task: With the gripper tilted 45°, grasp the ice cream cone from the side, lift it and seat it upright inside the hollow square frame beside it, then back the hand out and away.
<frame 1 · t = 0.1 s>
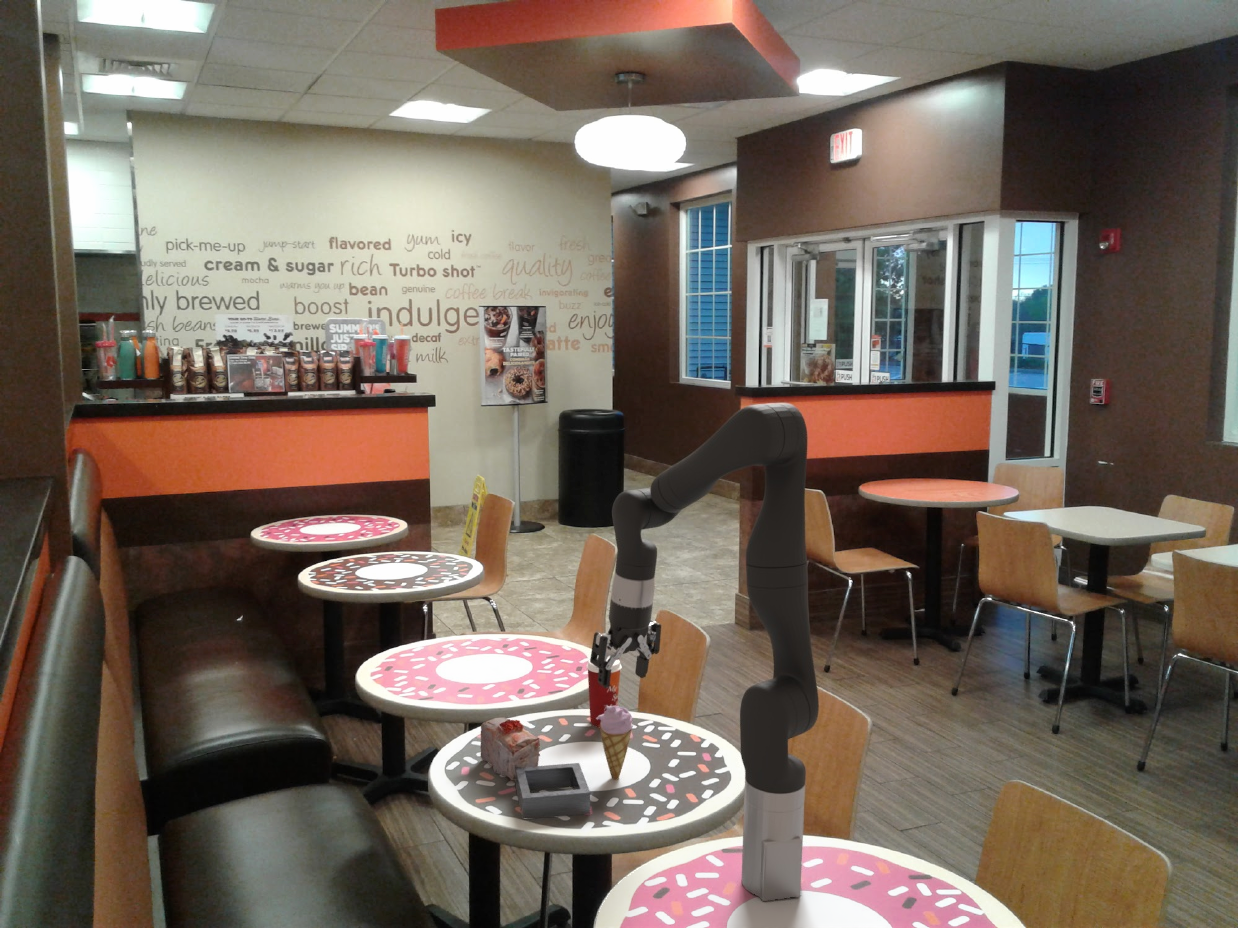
hand: (622, 680, 180), 23 cm above the table, tool pointing down, fingers open, 8 cm apart
ice cream cone: (613, 778, 192), on the table
hollow square frame: (551, 800, 182), on the table
paper cup: (603, 723, 217), on the table
food item: (509, 770, 195), on the table
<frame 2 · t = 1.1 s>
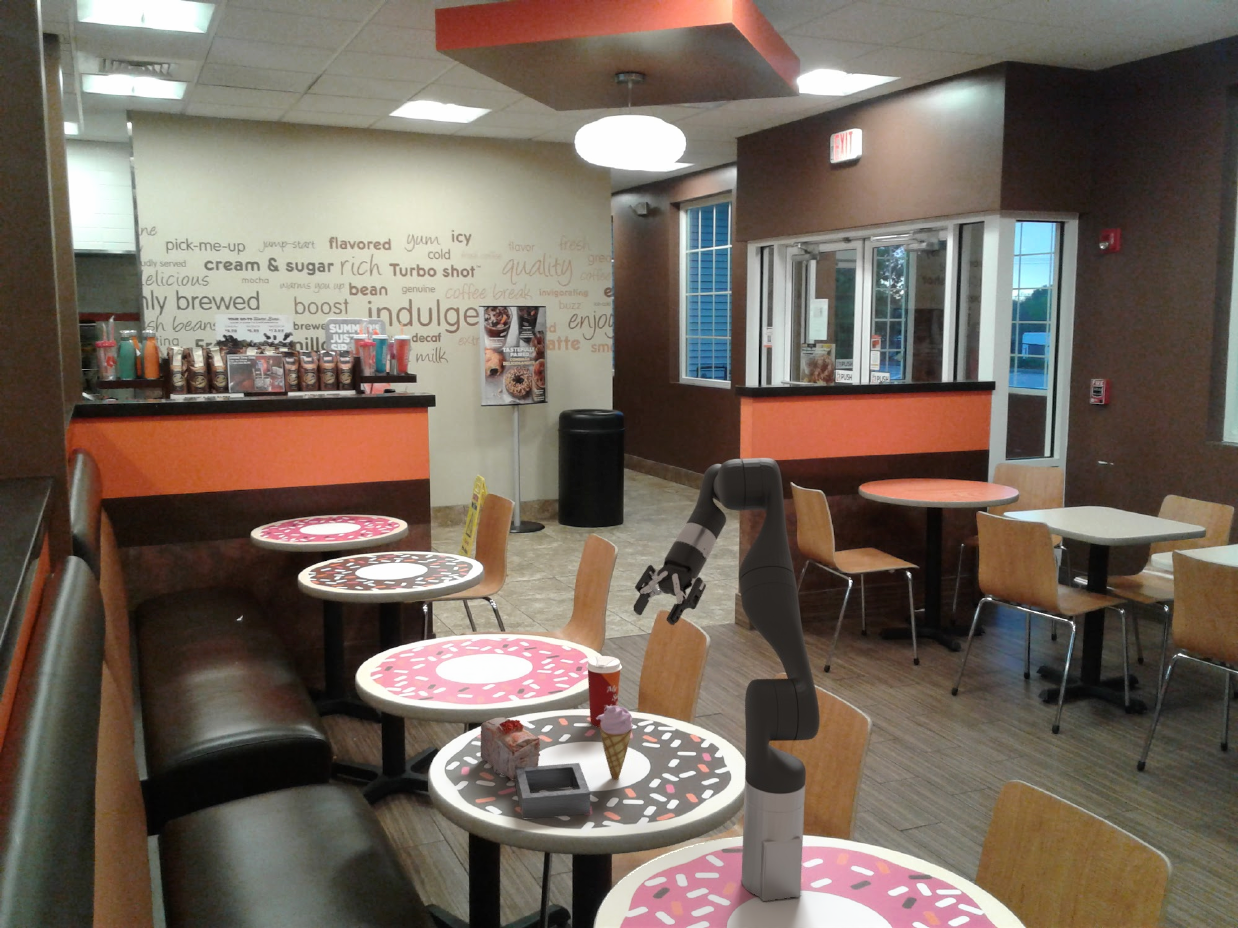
hand: (653, 617, 195), 29 cm above the table, tool tilted 45°, fingers open, 8 cm apart
nothing on the table moved.
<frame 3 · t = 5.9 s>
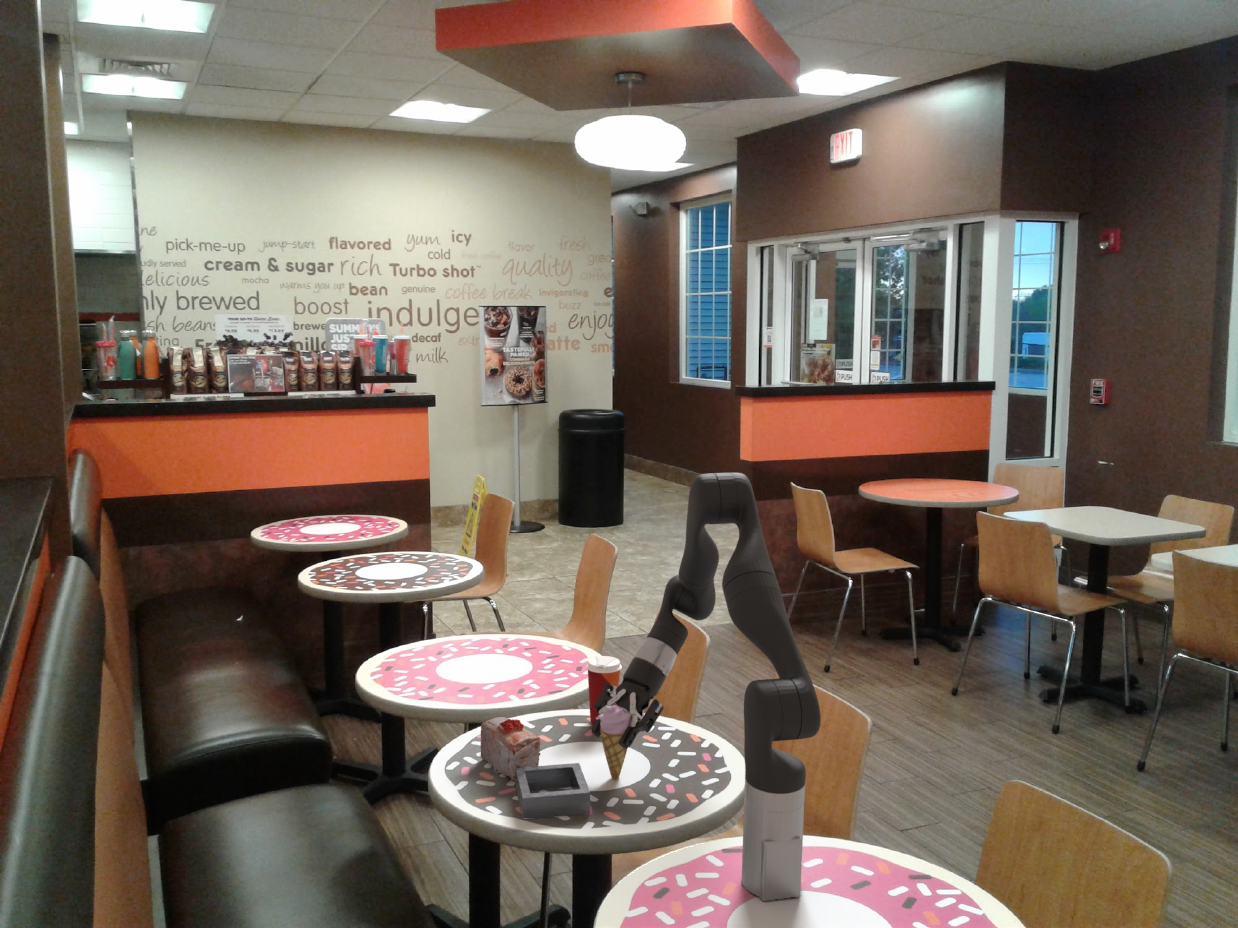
hand: (608, 740, 189), 8 cm above the table, tool tilted 45°, fingers closed on ice cream cone, 7 cm apart
ice cream cone: (613, 778, 192), on the table, touching gripper
everything else where it was.
when the fingers open (9 cm above the table, at t = 12.2 s): ice cream cone drops 1 cm, resting in hollow square frame.
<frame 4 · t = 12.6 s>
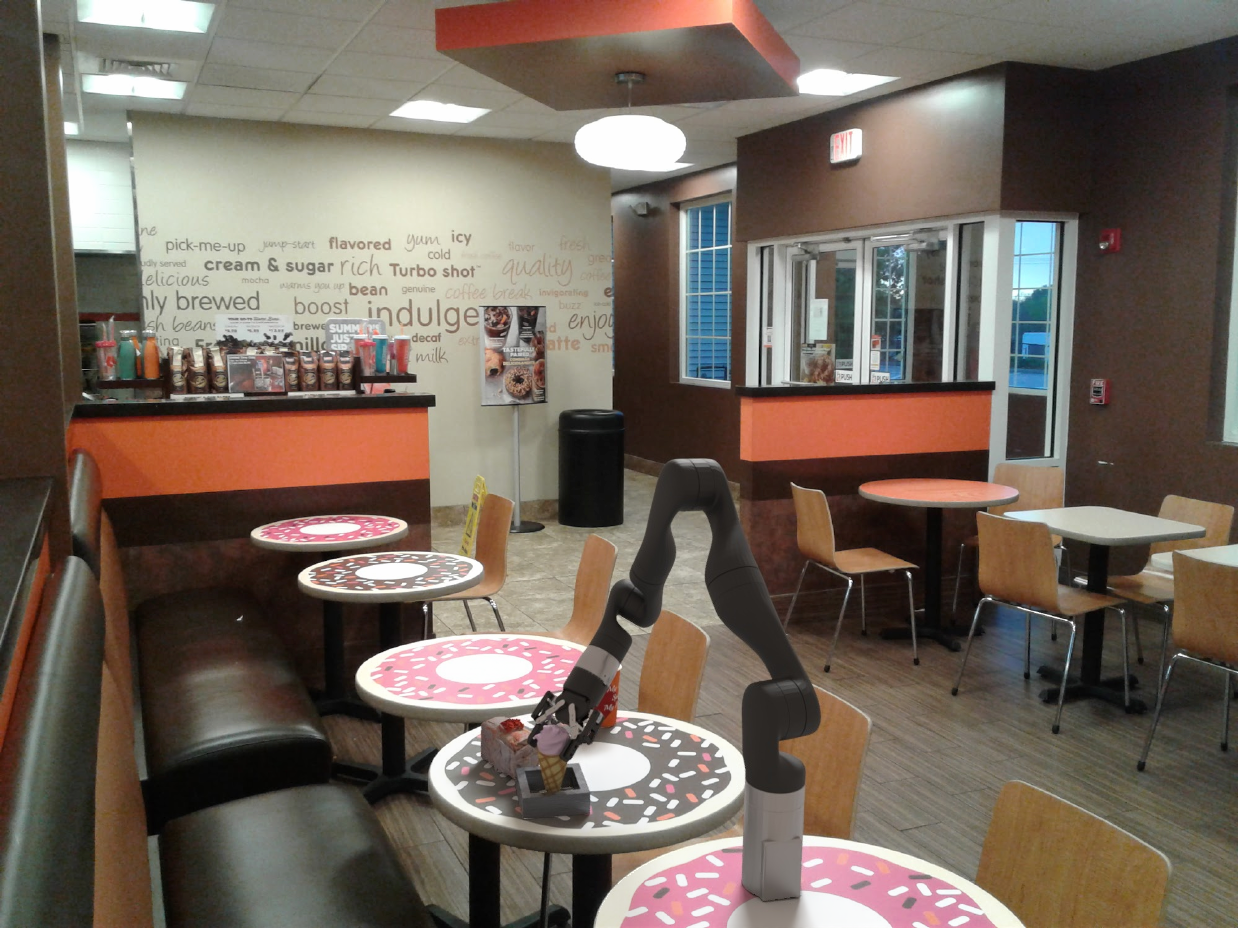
hand: (546, 752, 180), 10 cm above the table, tool tilted 45°, fingers open, 8 cm apart
ice cream cone: (551, 800, 183), resting in hollow square frame
everything else where it was.
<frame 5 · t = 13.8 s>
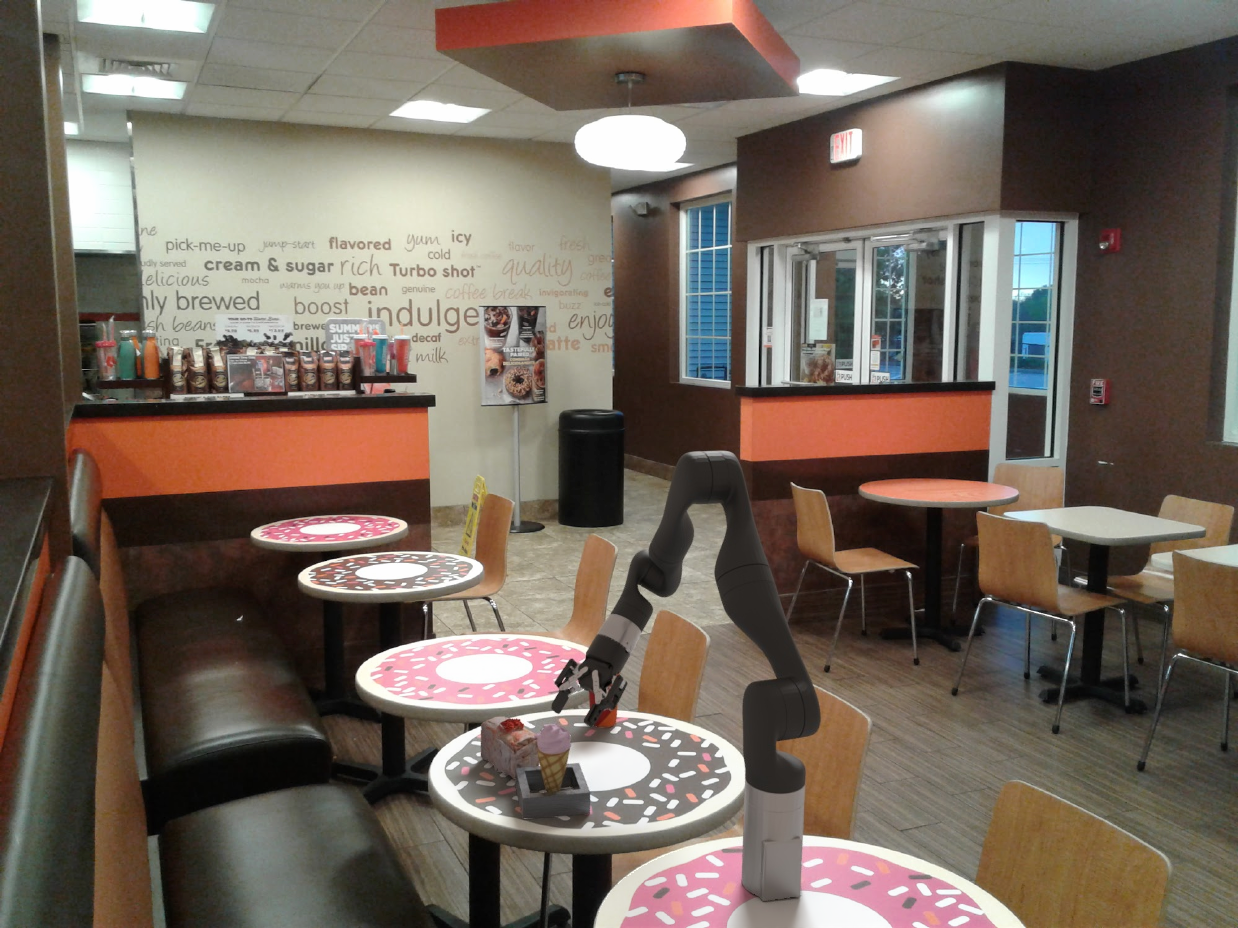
hand: (570, 717, 183), 14 cm above the table, tool tilted 45°, fingers open, 8 cm apart
nothing on the table moved.
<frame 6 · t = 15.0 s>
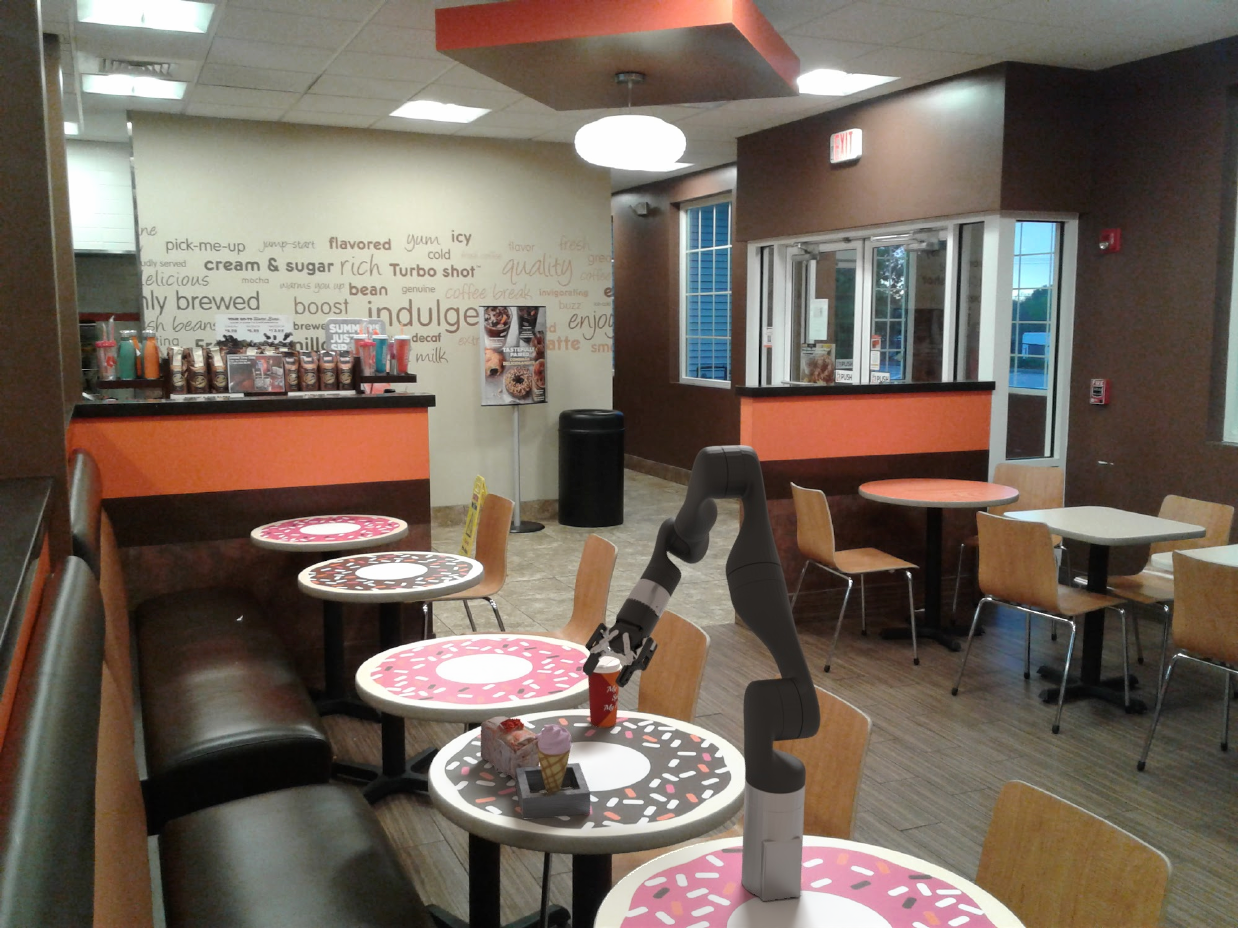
hand: (602, 679, 187), 20 cm above the table, tool tilted 45°, fingers open, 8 cm apart
nothing on the table moved.
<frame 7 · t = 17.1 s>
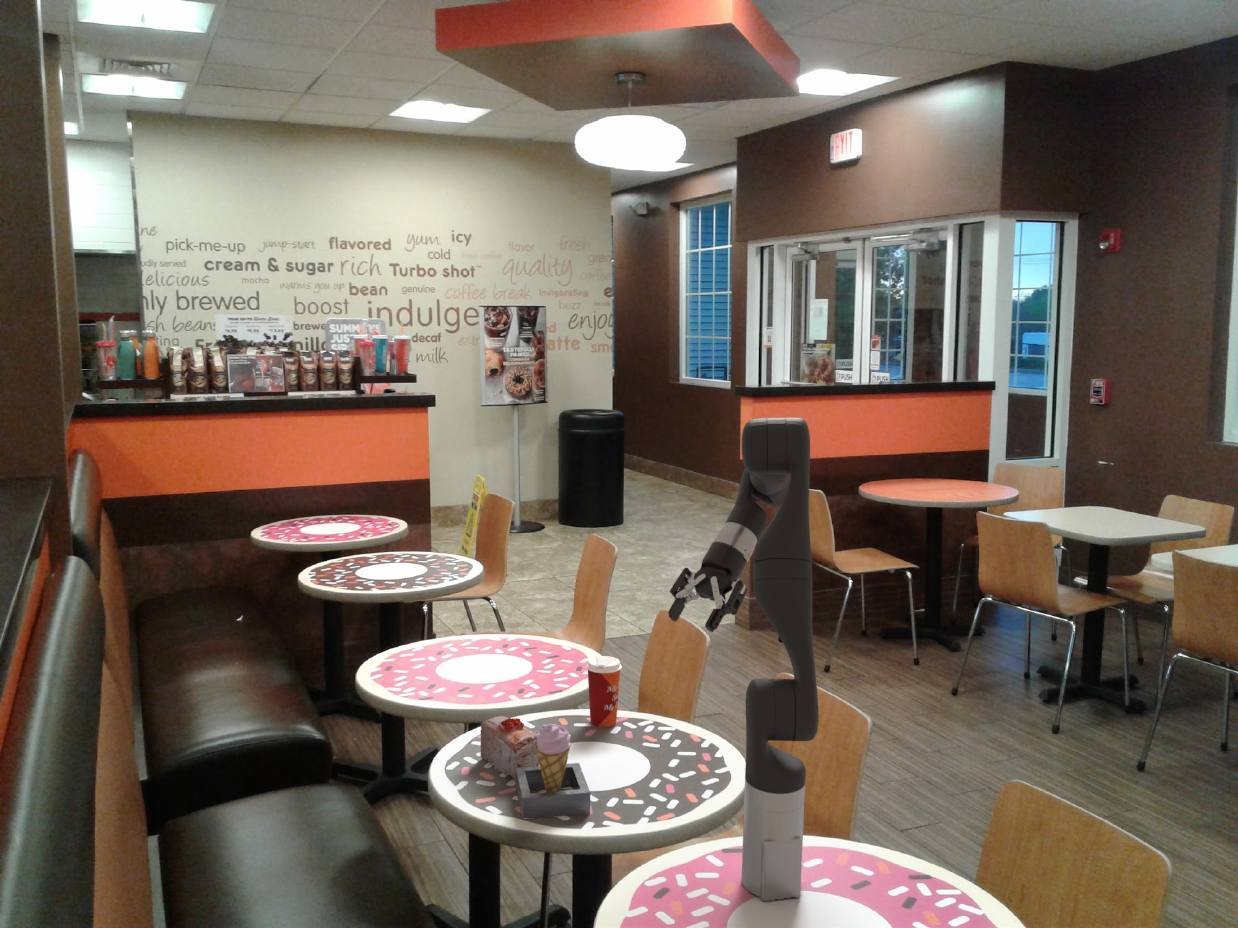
hand: (690, 624, 181), 33 cm above the table, tool tilted 45°, fingers open, 8 cm apart
nothing on the table moved.
at the end: ice cream cone 0.4 cm off-centre on the hollow square frame, point 0.0 cm above the hollow square frame's base; ice cream cone tilted 1°; the gripper is holding nothing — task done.
